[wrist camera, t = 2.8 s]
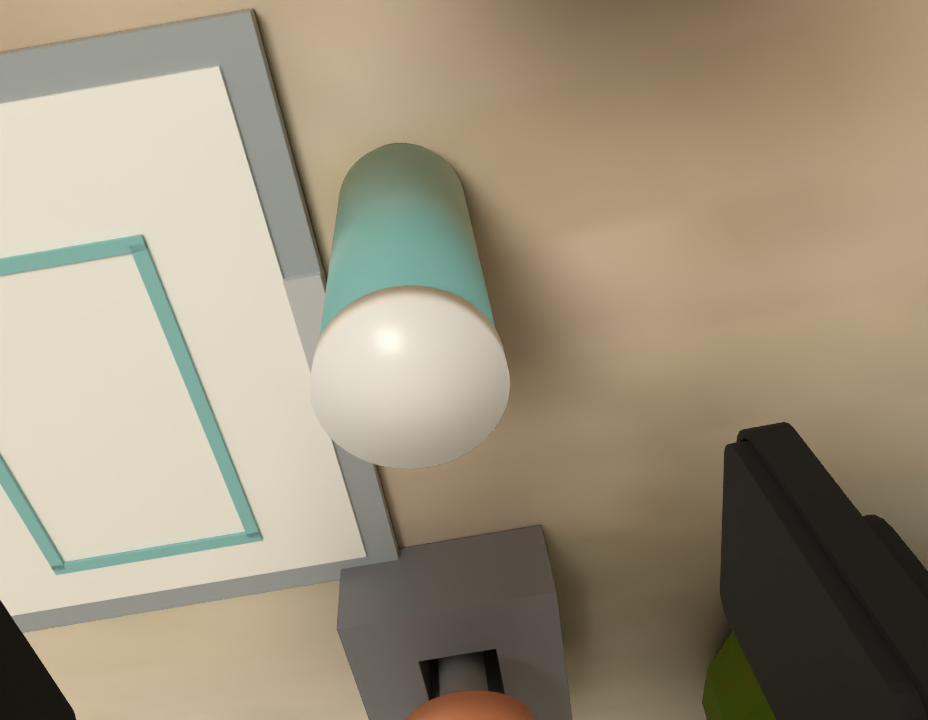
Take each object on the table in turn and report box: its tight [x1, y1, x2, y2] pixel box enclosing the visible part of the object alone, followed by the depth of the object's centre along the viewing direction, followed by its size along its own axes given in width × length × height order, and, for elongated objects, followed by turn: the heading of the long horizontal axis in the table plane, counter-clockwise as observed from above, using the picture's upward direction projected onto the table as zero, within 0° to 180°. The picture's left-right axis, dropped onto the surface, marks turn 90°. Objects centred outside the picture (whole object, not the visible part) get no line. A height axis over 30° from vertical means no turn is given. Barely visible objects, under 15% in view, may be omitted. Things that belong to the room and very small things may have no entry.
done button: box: [405, 651, 536, 720], centre depth 26 cm, size 4×4×4 cm
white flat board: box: [0, 8, 399, 633], centre depth 23 cm, size 18×15×1 cm
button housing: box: [337, 525, 572, 720], centre depth 28 cm, size 7×7×3 cm
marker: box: [310, 143, 510, 469], centre depth 17 cm, size 3×3×9 cm
